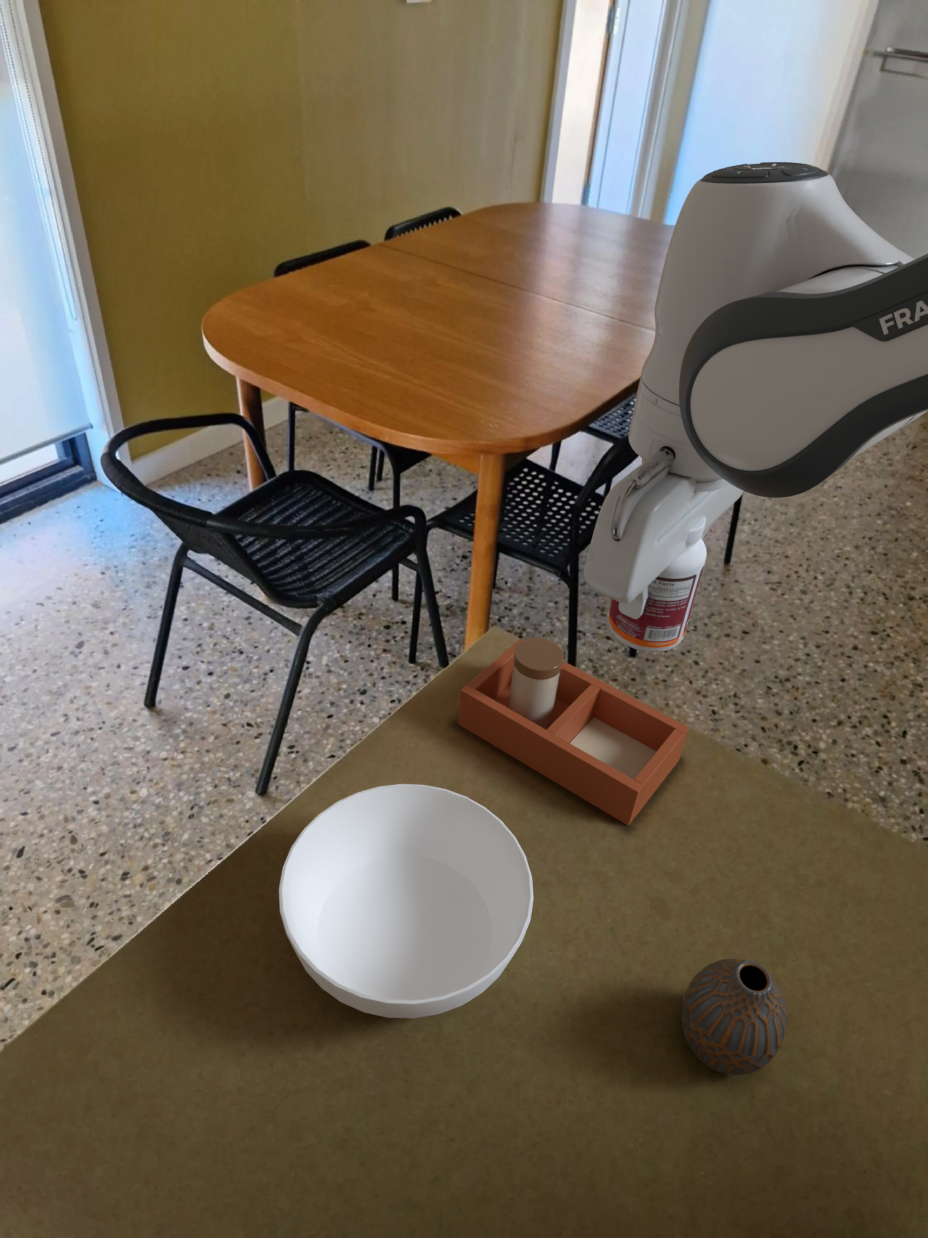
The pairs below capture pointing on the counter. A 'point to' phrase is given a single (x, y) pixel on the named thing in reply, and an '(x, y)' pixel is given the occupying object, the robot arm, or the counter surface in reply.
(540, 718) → the spice jar
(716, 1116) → the counter surface
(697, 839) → the counter surface
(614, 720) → the divided tray
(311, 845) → the bowl
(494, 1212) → the counter surface
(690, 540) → the pill bottle
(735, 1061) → the vase
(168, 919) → the counter surface
